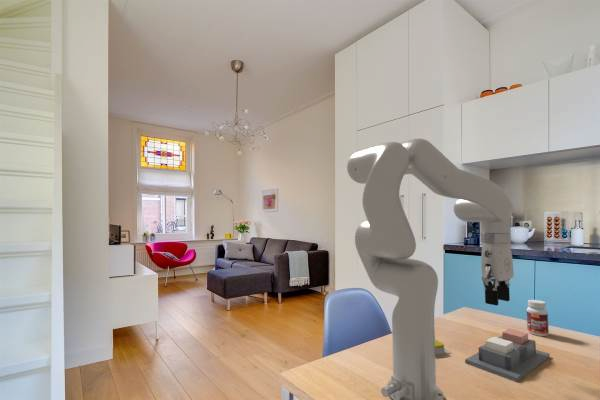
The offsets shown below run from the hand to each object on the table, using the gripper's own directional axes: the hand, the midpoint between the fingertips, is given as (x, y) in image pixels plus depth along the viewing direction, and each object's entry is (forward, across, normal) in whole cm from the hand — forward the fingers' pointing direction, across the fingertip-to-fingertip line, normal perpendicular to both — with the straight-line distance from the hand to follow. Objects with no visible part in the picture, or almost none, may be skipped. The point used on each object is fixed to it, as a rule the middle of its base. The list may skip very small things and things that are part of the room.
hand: (497, 301), depth 90 cm
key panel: (+18, +6, 0) cm, 19 cm away
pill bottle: (+18, +38, +2) cm, 42 cm away
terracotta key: (+14, +11, 0) cm, 18 cm away
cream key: (+14, 0, 0) cm, 14 cm away
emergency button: (+18, -8, +19) cm, 28 cm away
